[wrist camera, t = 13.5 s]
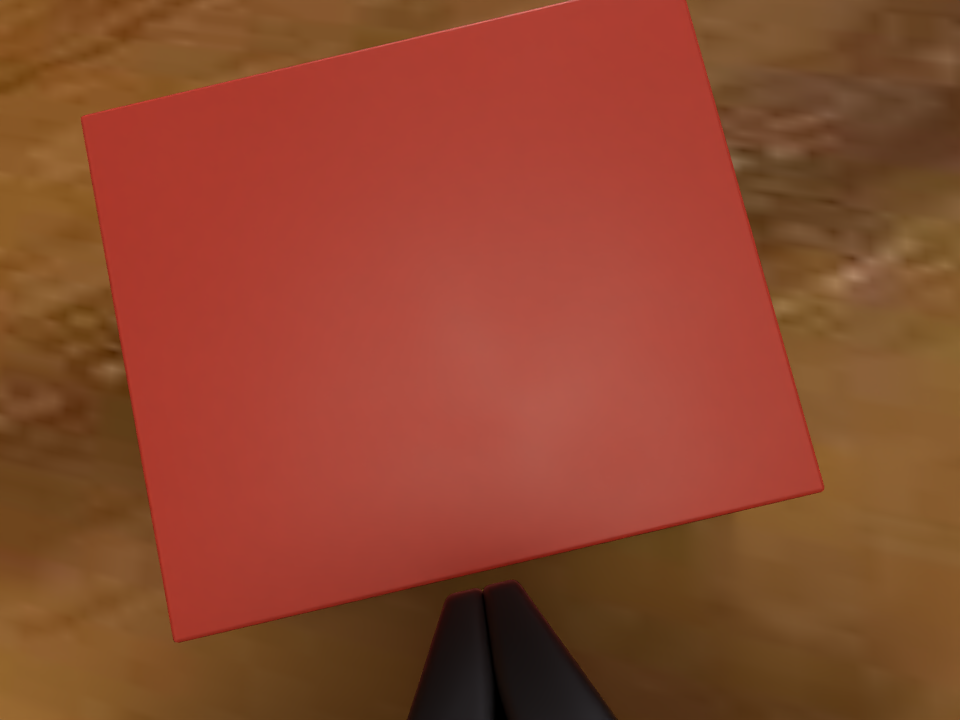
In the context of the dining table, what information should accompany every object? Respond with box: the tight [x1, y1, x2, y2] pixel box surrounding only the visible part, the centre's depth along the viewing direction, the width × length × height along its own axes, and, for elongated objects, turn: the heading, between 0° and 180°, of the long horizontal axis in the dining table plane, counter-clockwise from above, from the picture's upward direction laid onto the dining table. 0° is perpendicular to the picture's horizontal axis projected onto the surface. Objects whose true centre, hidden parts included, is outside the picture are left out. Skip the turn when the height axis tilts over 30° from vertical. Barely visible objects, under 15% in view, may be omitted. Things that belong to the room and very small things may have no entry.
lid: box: [81, 0, 824, 643], centre depth 16 cm, size 11×13×1 cm
